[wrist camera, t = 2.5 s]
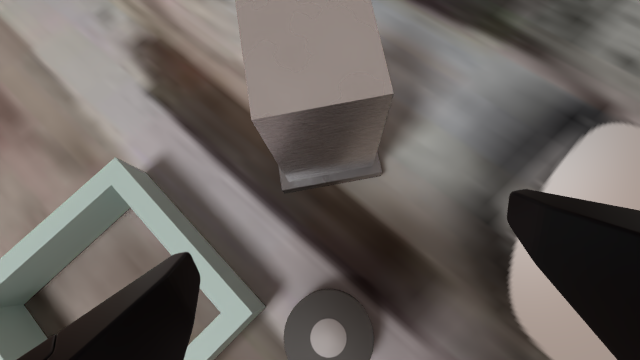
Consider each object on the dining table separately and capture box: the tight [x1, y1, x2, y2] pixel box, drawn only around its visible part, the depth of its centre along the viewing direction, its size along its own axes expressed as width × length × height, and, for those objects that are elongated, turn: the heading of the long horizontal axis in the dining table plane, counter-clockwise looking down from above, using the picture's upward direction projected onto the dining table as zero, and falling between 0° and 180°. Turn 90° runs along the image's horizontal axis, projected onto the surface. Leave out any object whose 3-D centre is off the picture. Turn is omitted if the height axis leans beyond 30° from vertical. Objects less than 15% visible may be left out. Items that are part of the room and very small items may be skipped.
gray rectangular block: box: [235, 0, 394, 193], centre depth 20 cm, size 6×6×11 cm
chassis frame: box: [0, 157, 266, 360], centre depth 21 cm, size 12×19×4 cm, turn 135°
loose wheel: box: [284, 289, 374, 360], centre depth 21 cm, size 5×5×2 cm
